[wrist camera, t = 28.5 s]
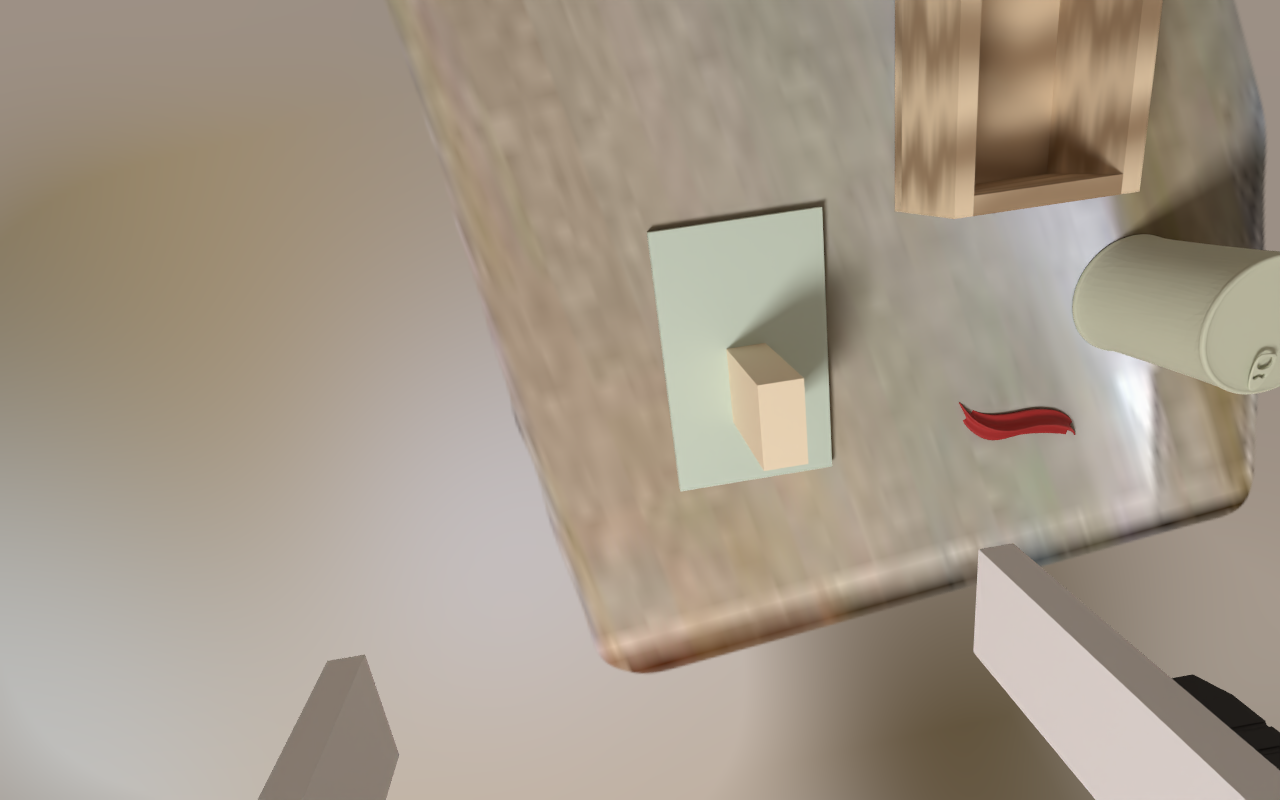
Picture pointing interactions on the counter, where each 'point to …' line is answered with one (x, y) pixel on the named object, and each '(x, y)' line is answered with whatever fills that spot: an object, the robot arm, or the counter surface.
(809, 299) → the lid
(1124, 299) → the can
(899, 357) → the counter surface
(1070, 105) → the light wood open box
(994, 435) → the cayenne pepper
